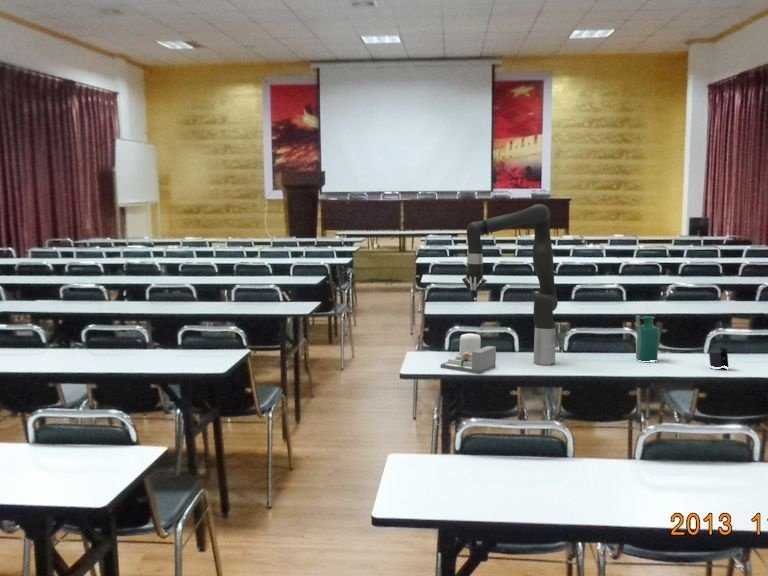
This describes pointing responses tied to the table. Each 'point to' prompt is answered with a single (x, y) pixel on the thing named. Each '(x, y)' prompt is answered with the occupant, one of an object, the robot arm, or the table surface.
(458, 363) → the base
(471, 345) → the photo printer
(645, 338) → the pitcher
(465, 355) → the gauge carriage
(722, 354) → the speaker
